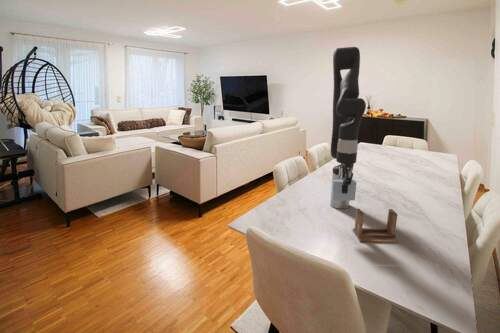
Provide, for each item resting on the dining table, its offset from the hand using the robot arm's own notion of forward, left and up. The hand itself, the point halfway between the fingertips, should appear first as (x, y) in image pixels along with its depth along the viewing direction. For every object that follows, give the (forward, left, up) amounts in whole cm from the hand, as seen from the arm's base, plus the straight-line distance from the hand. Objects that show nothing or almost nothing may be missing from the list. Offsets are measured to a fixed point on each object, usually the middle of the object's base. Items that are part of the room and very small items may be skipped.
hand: (343, 191), depth 119 cm
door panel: (0, 0, -3) cm, 3 cm away
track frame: (-4, +13, -17) cm, 21 cm away
